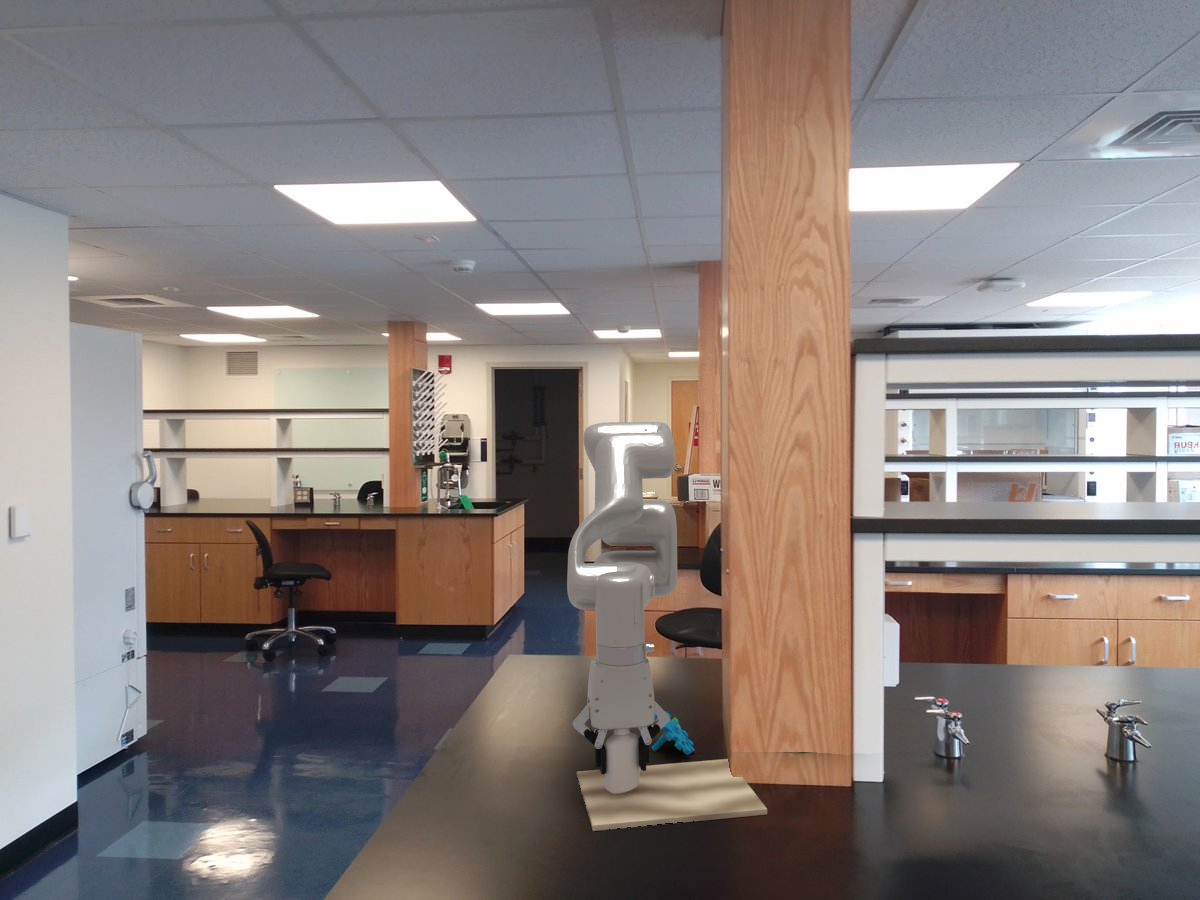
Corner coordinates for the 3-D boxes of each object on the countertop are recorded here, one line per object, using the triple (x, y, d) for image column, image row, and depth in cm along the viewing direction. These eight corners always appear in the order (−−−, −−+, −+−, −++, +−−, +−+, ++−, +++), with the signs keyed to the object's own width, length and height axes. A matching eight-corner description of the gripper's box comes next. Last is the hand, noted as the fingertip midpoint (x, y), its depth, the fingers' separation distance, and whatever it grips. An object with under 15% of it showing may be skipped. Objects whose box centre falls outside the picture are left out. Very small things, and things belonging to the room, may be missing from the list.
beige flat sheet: (576, 776, 129) (576, 771, 129) (728, 763, 133) (728, 758, 133) (592, 831, 111) (592, 825, 111) (767, 814, 115) (767, 809, 115)
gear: (693, 756, 132) (652, 710, 135) (669, 779, 133) (628, 733, 135) (700, 740, 143) (662, 697, 145) (677, 761, 144) (639, 719, 146)
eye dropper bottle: (602, 782, 123) (601, 706, 123) (637, 780, 124) (637, 704, 123) (606, 795, 119) (605, 716, 118) (642, 792, 119) (641, 714, 119)
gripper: (668, 643, 126) (670, 754, 126) (562, 649, 123) (564, 763, 123) (680, 656, 118) (682, 774, 119) (567, 663, 116) (569, 784, 116)
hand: (622, 767), depth 121 cm, fingers closed on eye dropper bottle, 5 cm apart
